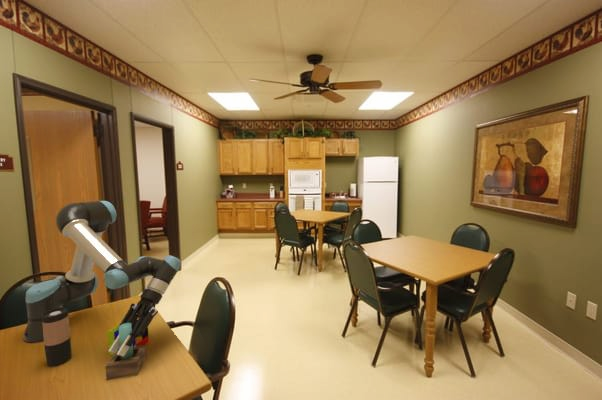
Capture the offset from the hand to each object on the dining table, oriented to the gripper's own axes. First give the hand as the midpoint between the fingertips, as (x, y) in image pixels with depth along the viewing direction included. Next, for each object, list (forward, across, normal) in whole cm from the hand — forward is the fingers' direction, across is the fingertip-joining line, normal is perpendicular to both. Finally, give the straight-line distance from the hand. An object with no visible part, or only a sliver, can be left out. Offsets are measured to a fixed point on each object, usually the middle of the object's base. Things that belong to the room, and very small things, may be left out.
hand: (116, 353), depth 97 cm
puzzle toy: (-2, +11, -14) cm, 18 cm away
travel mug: (+9, +29, -3) cm, 31 cm away
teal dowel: (0, 0, -5) cm, 5 cm away
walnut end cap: (+3, 0, -8) cm, 9 cm away
